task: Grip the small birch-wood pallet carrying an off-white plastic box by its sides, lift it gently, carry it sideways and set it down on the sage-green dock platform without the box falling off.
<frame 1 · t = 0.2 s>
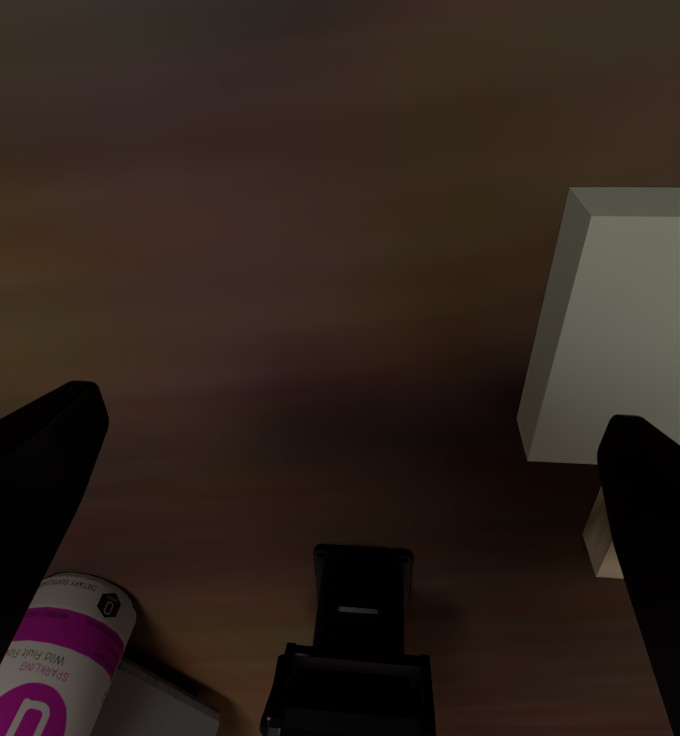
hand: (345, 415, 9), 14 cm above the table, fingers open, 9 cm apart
supplement can: (90, 595, 43), on the table
vintage electronic device: (72, 689, 55), on the table
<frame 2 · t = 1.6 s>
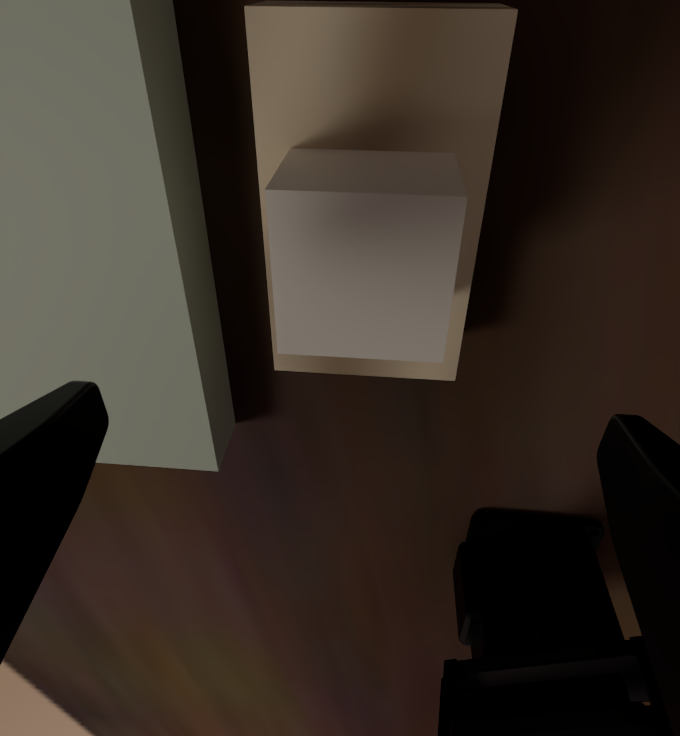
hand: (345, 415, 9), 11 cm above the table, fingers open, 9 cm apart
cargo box: (368, 229, 16), point 3 cm above the table, touching pallet
pallet: (373, 195, 18), on the table, touching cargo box
dock: (36, 184, 19), on the table
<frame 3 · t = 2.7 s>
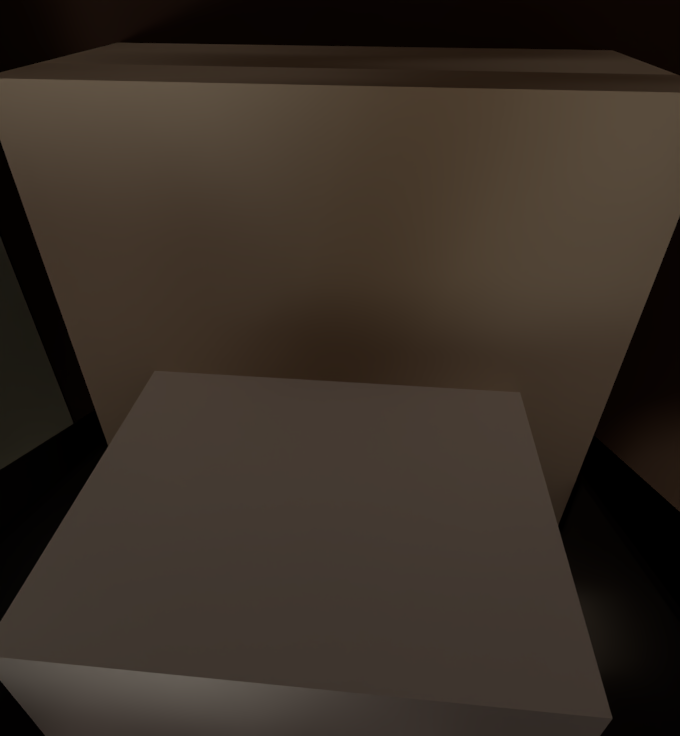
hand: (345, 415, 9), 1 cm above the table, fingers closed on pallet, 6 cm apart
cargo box: (333, 501, 8), point 3 cm above the table, touching pallet
pallet: (350, 378, 10), on the table, touching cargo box, gripper
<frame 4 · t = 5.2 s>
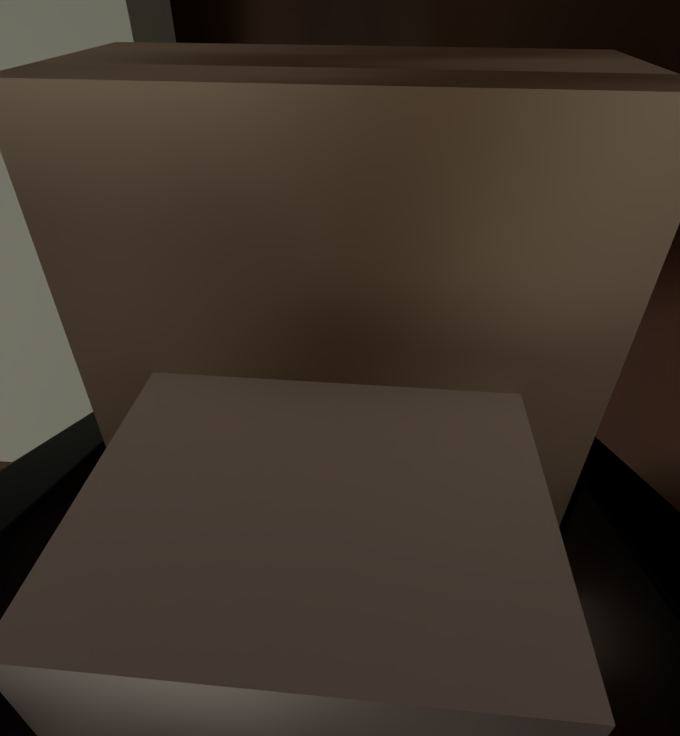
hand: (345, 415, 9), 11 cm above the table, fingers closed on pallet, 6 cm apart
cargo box: (333, 503, 8), point 13 cm above the table, touching pallet
pallet: (350, 379, 10), point 10 cm above the table, touching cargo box, gripper
dock: (34, 189, 19), on the table
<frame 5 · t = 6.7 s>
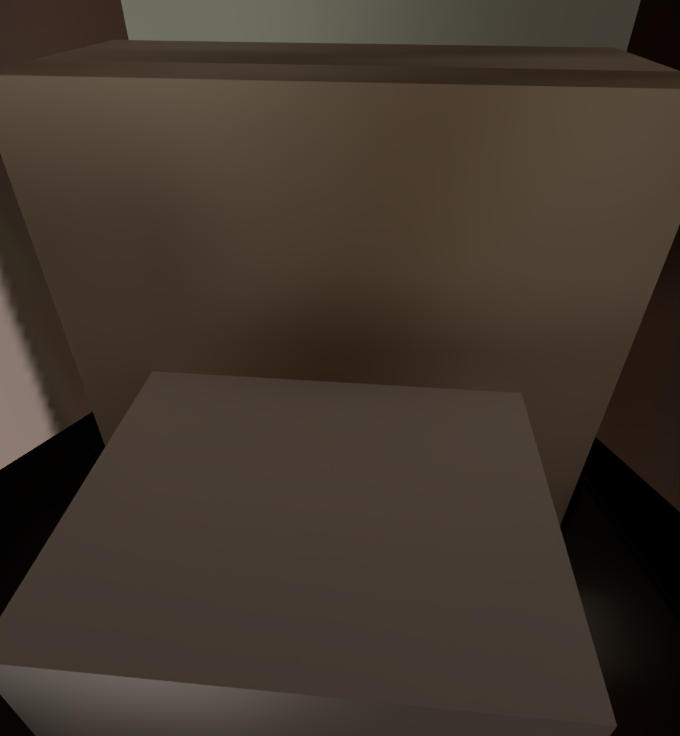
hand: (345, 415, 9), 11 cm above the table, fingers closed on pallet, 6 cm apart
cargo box: (333, 502, 8), point 13 cm above the table, touching pallet
pallet: (349, 378, 10), point 10 cm above the table, touching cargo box, gripper
dock: (368, 202, 18), on the table
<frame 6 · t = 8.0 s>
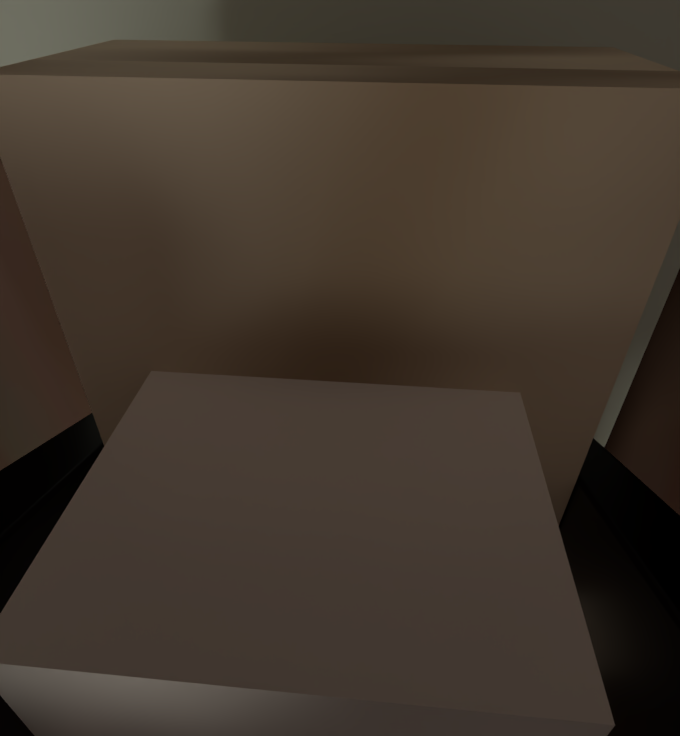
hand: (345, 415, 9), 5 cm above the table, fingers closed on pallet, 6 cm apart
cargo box: (332, 502, 8), point 7 cm above the table, touching pallet
pallet: (349, 378, 10), point 4 cm above the table, touching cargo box, gripper
dock: (360, 273, 14), on the table
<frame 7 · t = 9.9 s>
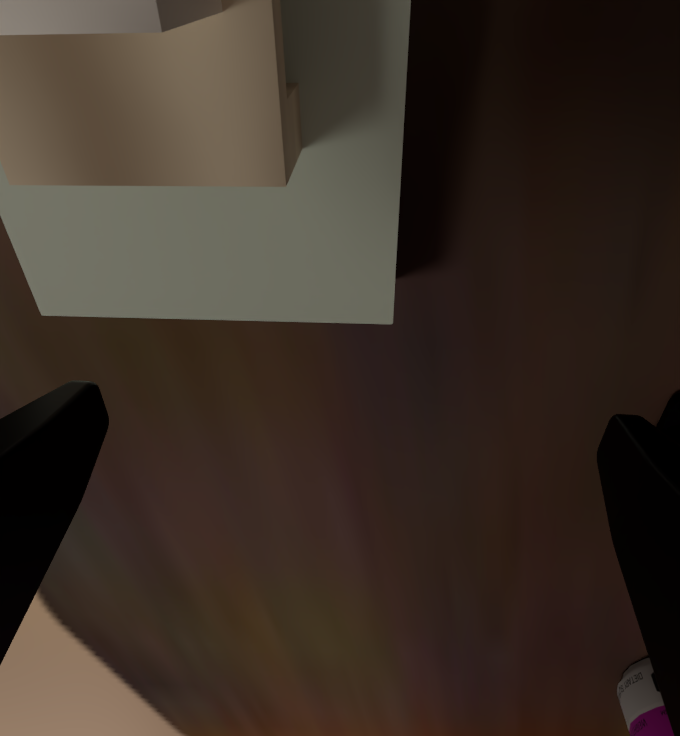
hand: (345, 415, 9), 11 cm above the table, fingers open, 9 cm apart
supplement can: (675, 671, 37), on the table
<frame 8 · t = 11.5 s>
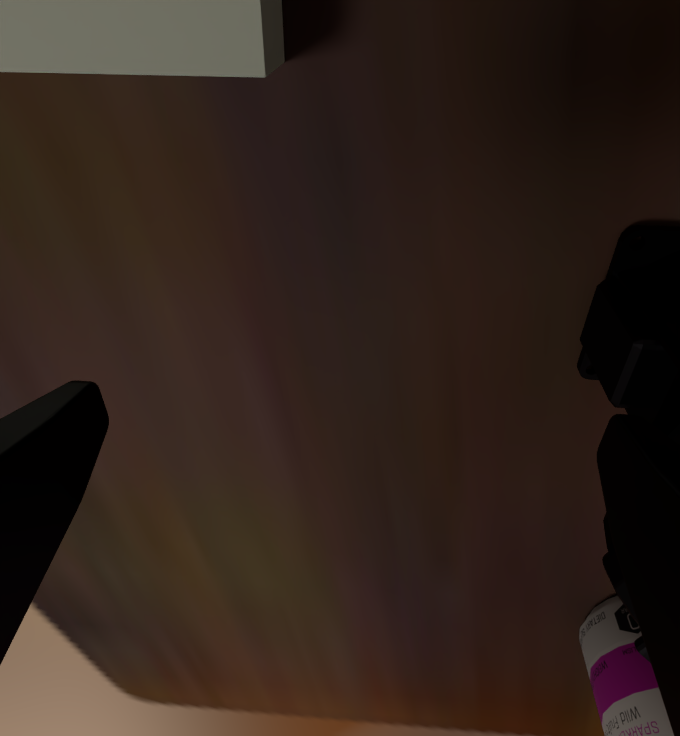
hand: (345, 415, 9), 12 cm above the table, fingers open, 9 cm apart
supplement can: (644, 617, 33), on the table
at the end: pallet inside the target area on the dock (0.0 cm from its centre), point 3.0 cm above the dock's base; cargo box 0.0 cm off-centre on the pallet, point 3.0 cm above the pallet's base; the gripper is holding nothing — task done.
